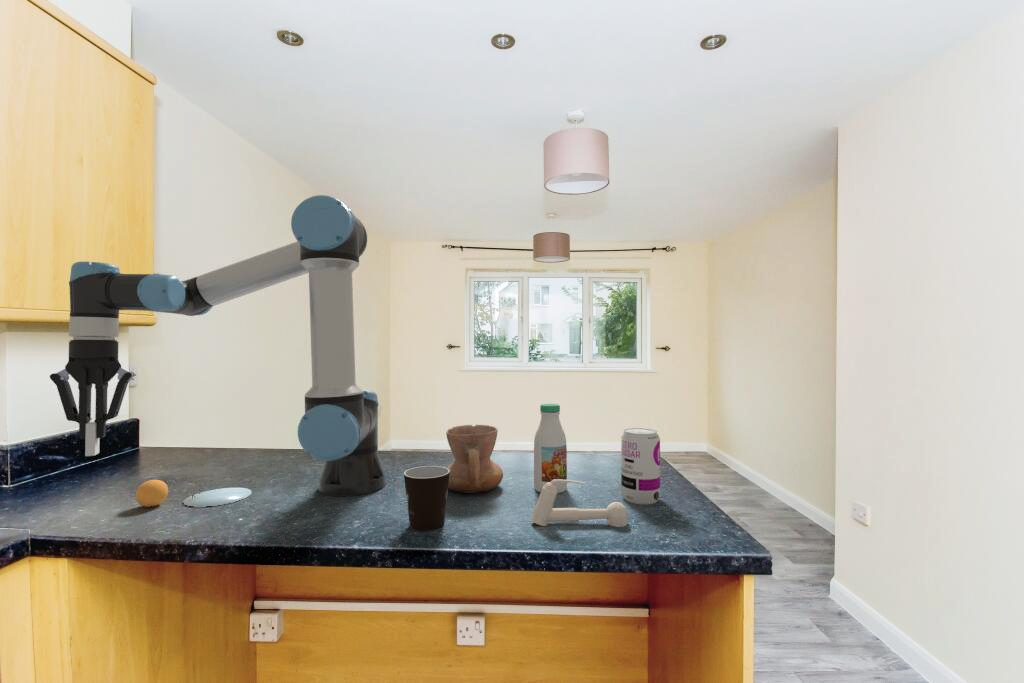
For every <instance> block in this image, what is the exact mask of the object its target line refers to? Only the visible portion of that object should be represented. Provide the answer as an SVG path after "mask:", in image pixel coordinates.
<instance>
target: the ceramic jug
mask: <svg viewBox="0 0 1024 683" xmlns="http://www.w3.org/2000/svg"><path fill="white" fill-rule="evenodd" d="M445 433H446V434H445V435H446V439H447V442H448V446H449V448H450V451H451V453H452V455H453V458H454V461H453V462H452V463H451V464H449V465H448V466H447V467H446V468H448V469H449V470H450V474H449V483H448V489H450V490H452V491H455V492H459V493H464V494H477V493H483V492H484V493H485V492H488V491H490V490H491V491H492V489H495V488H496V487H498V486H499V485H500V484H501V482H502V481H503V478H504V472H503V469H502V468H501V467H500V465H499V464H497V463H496V462H494V460H492V459H491V457H492V453H493V451H494V449H495V446H496V442H497V438H498V428H497V427H496V426H493V425H489V424H488V425H487V424H475V425H472V424H463V425H455V426H453V427H451V428H448V429H446V431H445Z"/></svg>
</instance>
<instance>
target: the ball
mask: <svg viewBox="0 0 1024 683" xmlns="http://www.w3.org/2000/svg"><path fill="white" fill-rule="evenodd" d="M168 495H169V487H168V485H167V484H166V483H165V481H162V480H160V479H149V480H147V481H145V482H143V483H142V484H140V485H139V486H138V487H137V489H136V491H135V500H136V502H137V503H138V504H139V505H140V506H143V507H146V508H148V507H149V508H151V506H152V507H154V506H155V507H156V506H158V505H160V504H162V503H163V502H164V501H165V500H166V498H167V497H168Z"/></svg>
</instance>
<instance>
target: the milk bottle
mask: <svg viewBox="0 0 1024 683" xmlns="http://www.w3.org/2000/svg"><path fill="white" fill-rule="evenodd" d="M539 407H540V408H539V409H540V415H541V416H540V422H539V425H538V427H537V429H536V431H535V434H534V440H533V487H534V490H535V491H536V492H538V493H541V491H542V488H543V486H544V485H545V484H546V483H548V482H551V481H552V480H554V479H562V480H568V476H567V475H568V460H567V458H568V455H567V454H568V451H567V437H566V433H565V431H564V429H563V427H562V424H561V420H560V413H561V412H560V411H561V406H560V404H558V403H542V404H540V406H539ZM555 486H556V487H557V494H561V493H562V494H563V493H564V492H566V490H567V488H568V482H564V483H556V484H555Z"/></svg>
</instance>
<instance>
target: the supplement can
mask: <svg viewBox="0 0 1024 683" xmlns="http://www.w3.org/2000/svg"><path fill="white" fill-rule="evenodd" d="M659 436H660V435H659V434H658V431H657V430H656V429H651V428H643V427H635V428H634V427H630V428H625V429H624V430H623V433H622V435H621V436H620V450H621V451H620V456H621V457H620V458H621V460H620V462H621V464H620V466H621V467H620V468H621V470H620V472H621V473H620V474H621V476H620V477H621V478H620V479H621V480H620V481H621V482H620V483H621V484H620V486H621V488H620V489H621V490H620V491H621V497H622V498H624V500H625V501H627V502H628V503H632V504H636V505H643V506H644V505H653V504H656V503H657V502H658V501H659V500H660V499H661V438H660V437H659Z"/></svg>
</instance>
